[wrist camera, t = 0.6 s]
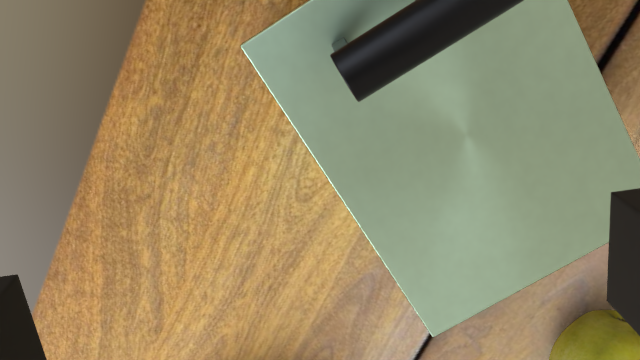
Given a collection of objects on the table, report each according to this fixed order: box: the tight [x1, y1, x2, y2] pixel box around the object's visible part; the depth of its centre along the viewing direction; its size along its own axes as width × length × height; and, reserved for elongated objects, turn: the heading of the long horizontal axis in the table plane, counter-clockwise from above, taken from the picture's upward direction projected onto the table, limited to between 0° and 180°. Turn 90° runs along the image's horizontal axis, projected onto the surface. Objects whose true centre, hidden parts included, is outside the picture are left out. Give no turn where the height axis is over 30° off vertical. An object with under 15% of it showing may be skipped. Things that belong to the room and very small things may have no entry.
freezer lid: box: [241, 0, 640, 337], centre depth 27 cm, size 19×14×8 cm
